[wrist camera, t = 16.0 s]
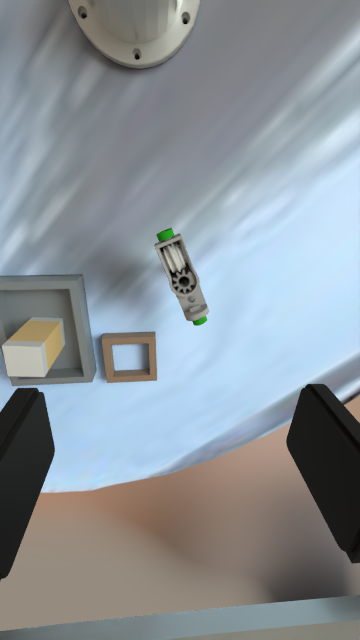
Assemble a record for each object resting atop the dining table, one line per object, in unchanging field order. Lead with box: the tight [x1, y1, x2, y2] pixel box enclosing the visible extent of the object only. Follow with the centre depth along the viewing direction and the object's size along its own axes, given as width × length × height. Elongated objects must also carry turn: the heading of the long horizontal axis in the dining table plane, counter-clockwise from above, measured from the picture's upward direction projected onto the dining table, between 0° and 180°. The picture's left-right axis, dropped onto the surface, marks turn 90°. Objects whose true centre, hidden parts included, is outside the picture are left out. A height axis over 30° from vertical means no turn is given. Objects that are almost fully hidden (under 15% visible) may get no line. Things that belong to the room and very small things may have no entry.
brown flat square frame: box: [101, 332, 157, 383], centre depth 40 cm, size 8×8×2 cm
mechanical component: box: [155, 228, 209, 325], centre depth 32 cm, size 3×10×10 cm, turn 21°
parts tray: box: [0, 275, 96, 386], centre depth 37 cm, size 15×11×3 cm
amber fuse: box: [2, 317, 65, 377], centre depth 34 cm, size 4×4×8 cm
